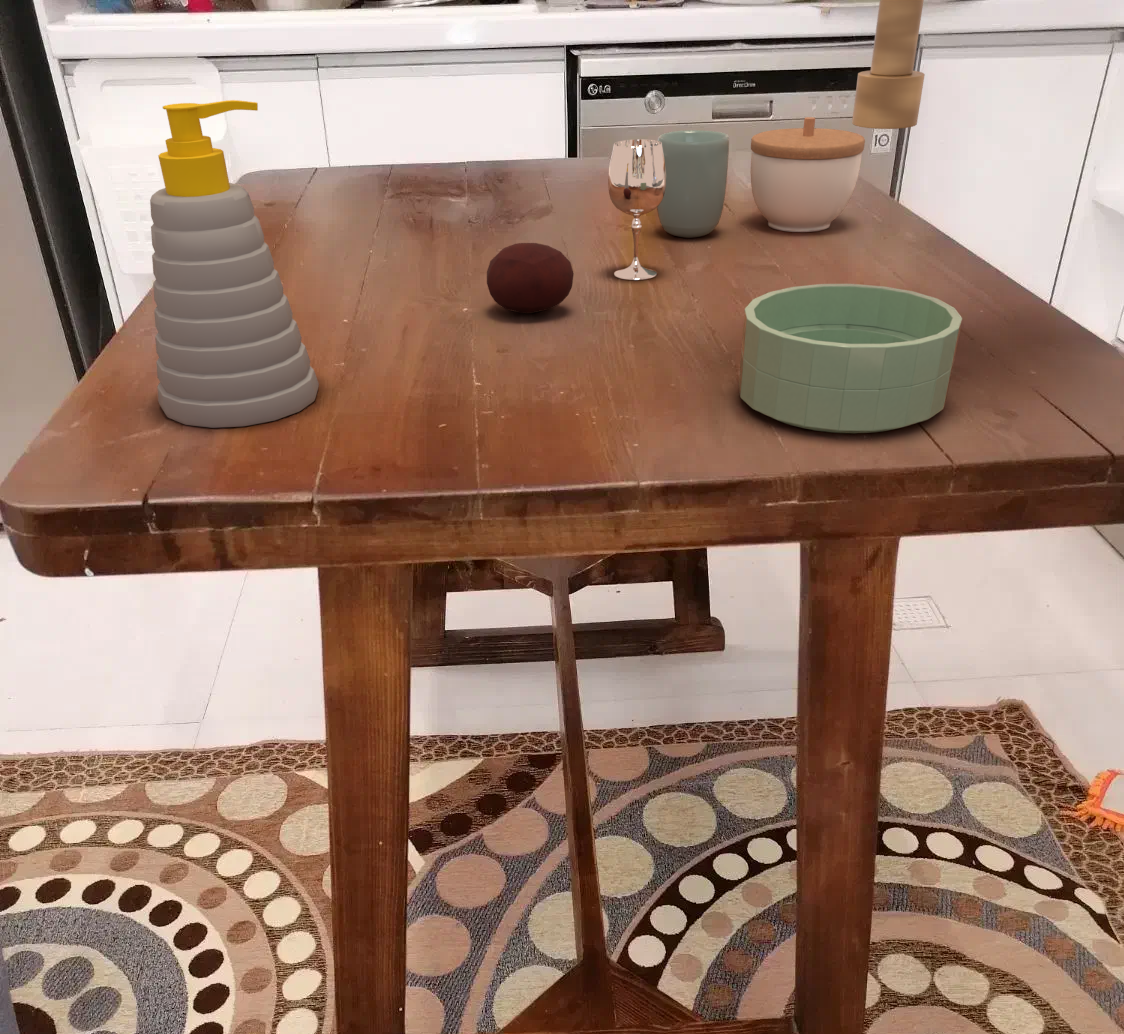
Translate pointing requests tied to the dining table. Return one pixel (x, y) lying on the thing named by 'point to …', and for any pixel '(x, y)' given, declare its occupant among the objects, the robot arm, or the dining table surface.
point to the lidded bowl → (804, 175)
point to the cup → (693, 181)
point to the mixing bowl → (847, 356)
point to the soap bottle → (218, 292)
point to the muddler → (891, 70)
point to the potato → (529, 277)
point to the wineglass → (637, 190)
